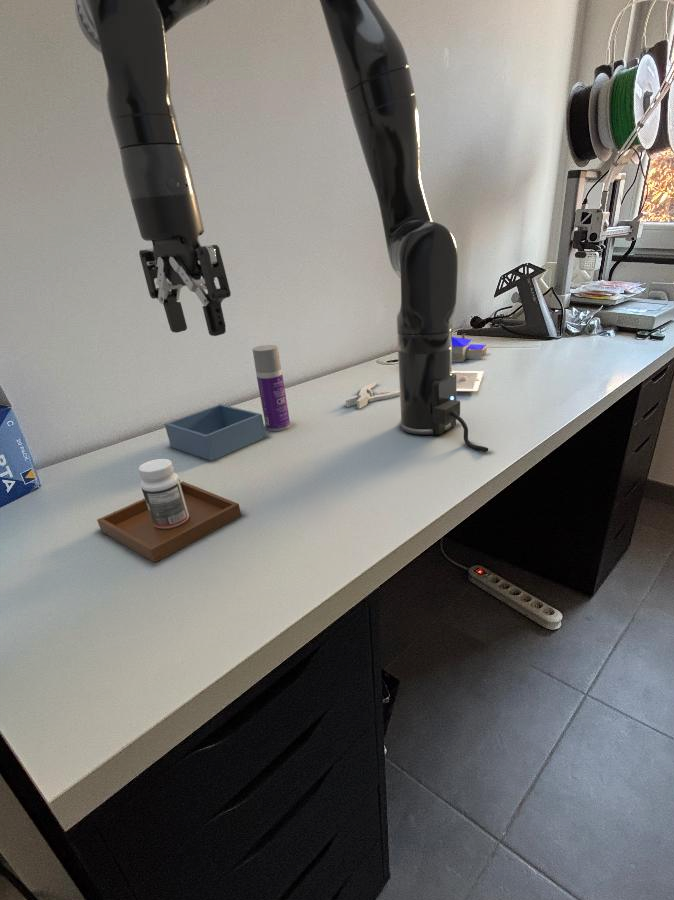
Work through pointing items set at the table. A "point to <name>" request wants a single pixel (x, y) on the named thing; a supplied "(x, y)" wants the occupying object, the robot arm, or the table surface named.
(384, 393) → the pliers
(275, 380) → the container
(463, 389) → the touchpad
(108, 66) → the robot arm
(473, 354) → the house
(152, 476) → the pill bottle
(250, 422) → the storage box
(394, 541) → the table surface
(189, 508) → the tray
